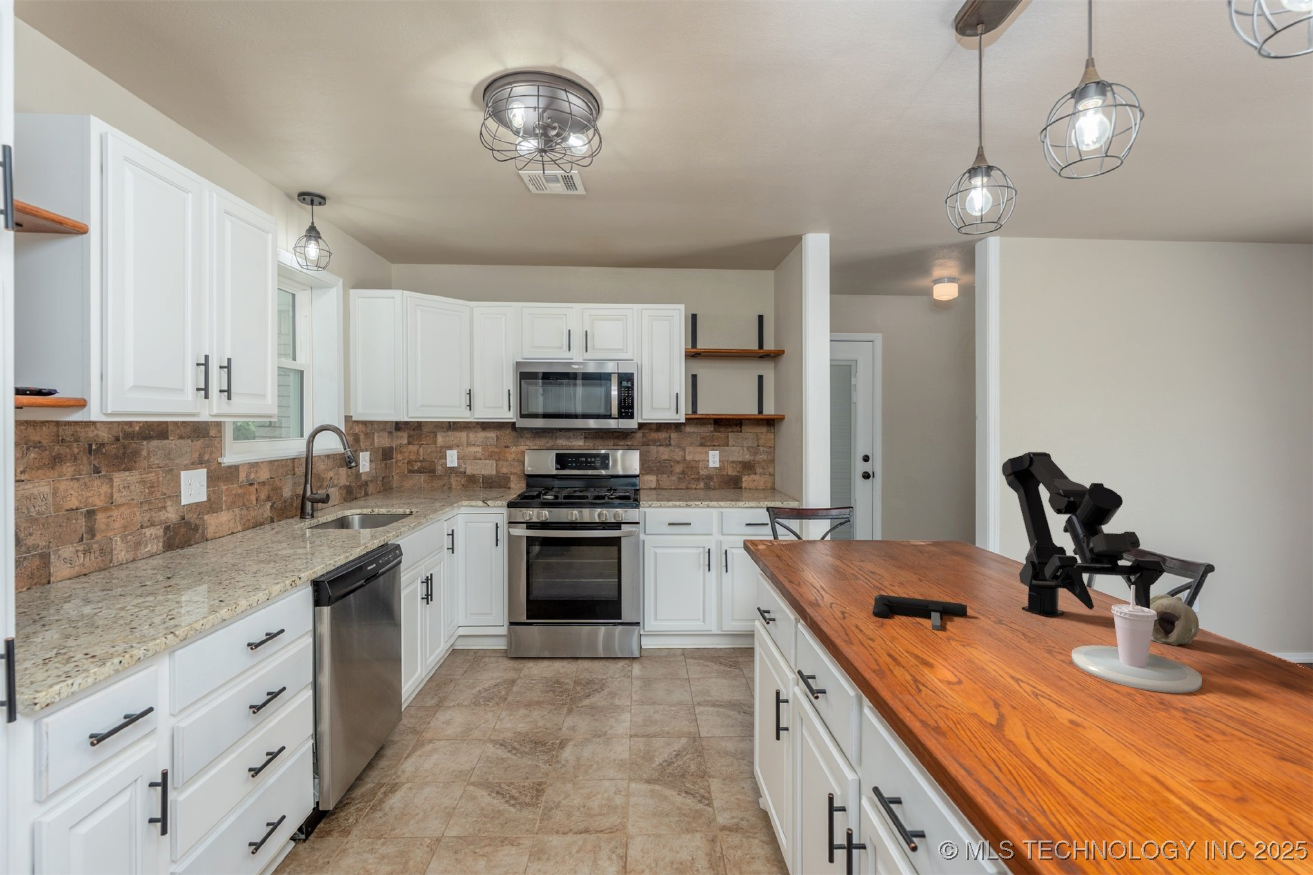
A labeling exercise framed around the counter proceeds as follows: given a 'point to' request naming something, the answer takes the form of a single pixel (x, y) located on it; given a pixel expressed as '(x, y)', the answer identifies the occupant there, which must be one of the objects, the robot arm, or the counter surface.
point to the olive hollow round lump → (1173, 620)
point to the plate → (1137, 670)
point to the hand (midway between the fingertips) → (1119, 610)
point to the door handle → (916, 608)
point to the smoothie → (1133, 631)
